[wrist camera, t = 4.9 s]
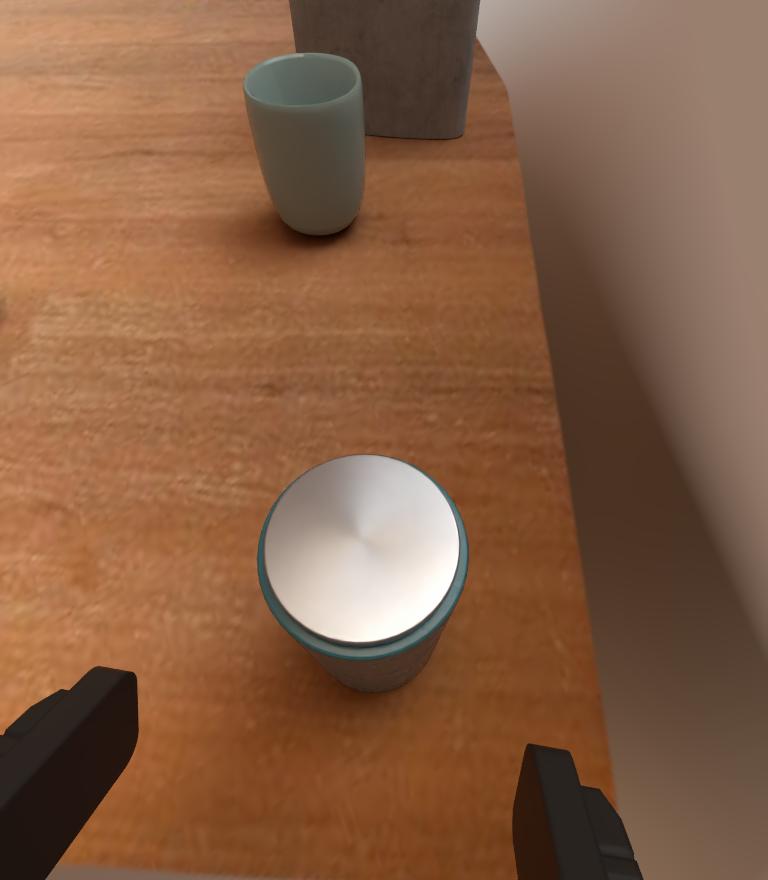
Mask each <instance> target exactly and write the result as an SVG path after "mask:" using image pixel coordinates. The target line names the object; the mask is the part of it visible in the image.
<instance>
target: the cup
mask: <svg viewBox="0 0 768 880" xmlns="http://www.w3.org/2000/svg"><path fill="white" fill-rule="evenodd" d="M243 92H244V98H245V104H246V109H247V114H248V118H249V123H250V127H251V131H252V135H253V140H254V144H255V148H256V152H257V156H258V160H259V164H260V168H261V171H262V175H263V178H264V181H265V185H266V188H267V191H268V193H269V196H270V199H271V201H272V203H273V205H274V207H275V209H276V211H277V213H278V214H279V216H280V218H281V219H282V220H283V221H284V222H285V223H286V224H287V225H288V226H289V227H290V228H292V229H294V230H296V231H297V232H300V233H303V234H308V235H317V236H319V235H329V234H333V233H337V232H339V231H341V230H343V229H345V228H346V227H348V226H349V225H350V224H351V222H352V221H353V220H354V219H355V217H356V215H357V214H358V212H359V210H360V207H361V203H362V199H363V194H364V187H365V170H366V152H365V123H364V102H363V87H362V78H361V74H360V72H359V70H358V68H357V67H356V66H355V64H354V63H352V62H351V61H349V60H348V59H345V58H342V57H340V56H335V55H331V54H323V53H295V54H286V55H281V56H276V57H273V58H270V59H267V60H265V61H263V62H261V63H259V64H257V65H256V66H254V67H253V68H252V69H251V70H250V71H249V72H248V73H247V75H246V77H245V79H244V83H243Z"/></svg>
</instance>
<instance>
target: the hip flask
mask: <svg viewBox="0 0 768 880" xmlns="http://www.w3.org/2000/svg"><path fill="white" fill-rule="evenodd" d="M289 4H290V11H291V18H292V25H293V32H294V40H295V47H296V53H323V54H331V55H335V56H340V57H342V58H345V59H348V60H349V61H351V62H352V63H354V64H355V66H356V67H357V68H358V70H359V72H360V74H361V78H362V87H363V102H364V123H365V134H367V135H377V136H387V137H399V138H418V139H453V138H457V137H459V136H461V135H462V134H463V133H464V129H465V121H466V113H467V104H468V96H469V88H470V80H471V71H472V63H473V55H474V46H475V38H476V30H477V21H478V13H479V5H480V0H289Z"/></svg>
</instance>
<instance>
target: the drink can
mask: <svg viewBox="0 0 768 880" xmlns="http://www.w3.org/2000/svg"><path fill="white" fill-rule="evenodd" d="M468 563H469V547H468V540H467V534H466V530H465V526H464V523H463V520H462V518H461V515H460V513H459V511H458V509H457V507H456V505H455V504H454V502H453V500H452V499H451V497H450V496H449V495H448V494H447V492H446V491H445V490H444V489H443V488H442V487H441V486H440V485H439V484H438V483H437V482H436V481H435V480H434V479H433V478H432V477H430V476H429V475H428V474H427V473H425V472H424V471H422V470H420V469H419V468H417V467H415V466H413V465H411V464H409V463H407V462H404V461H402V460H398V459H395V458H392V457H387V456H382V455H371V454H358V455H349V456H343V457H339V458H336V459H332V460H329V461H327V462H324V463H322V464H319V465H318V466H316V467H314V468H312V469H310V470H308V471H307V472H305V473H304V474H303V475H301V476H300V477H298V478H297V479H296V480H295V481H294V482H293V483H291V484H290V485H289V486H288V487H287V488H286V489H285V491H284V492H283V493H282V494H281V495H280V496H279V498H278V499H277V501H276V502H275V504H274V505H273V506H272V508H271V510H270V512H269V514H268V516H267V518H266V520H265V523H264V525H263V528H262V531H261V535H260V539H259V544H258V553H257V569H258V576H259V582H260V586H261V589H262V592H263V595H264V598H265V600H266V602H267V604H268V606H269V609H270V611H271V612H272V614H273V615H274V616H275V618H276V619H277V621H278V622H279V623H280V625H281V626H282V627H283V628H284V629H285V630H286V631H287V632H288V633H289V634H290V635H291V636H292V637H293V638H294V639H295V640H296V641H297V642H298V643H299V644H300V645H301V646H302V647H303V648H304V649H305V650H306V651H307V652H308V653H309V654H310V655H311V656H312V657H313V658H315V659H316V660H317V661H318V662H319V663H320V664H321V665H322V666H323V667H324V668H325V669H326V670H327V671H328V672H329V673H330V674H331V675H332V676H333V677H334V678H336V679H337V680H338V681H339V682H341V683H343V684H344V685H346V686H348V687H351V688H353V689H356V690H360V691H364V692H383V691H388V690H392V689H395V688H397V687H400V686H401V685H403V684H405V683H407V682H408V681H410V680H411V679H412V678H414V677H415V676H416V675H417V674H418V673H419V672H420V671H421V669H422V668H423V667H424V666H425V664H426V663H427V661H428V659H429V658H430V656H431V654H432V652H433V650H434V648H435V646H436V644H437V642H438V640H439V638H440V636H441V634H442V632H443V630H444V628H445V626H446V624H447V622H448V620H449V618H450V616H451V614H452V612H453V610H454V608H455V606H456V604H457V602H458V599H459V597H460V595H461V592H462V590H463V587H464V584H465V580H466V576H467V570H468Z"/></svg>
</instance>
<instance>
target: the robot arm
mask: <svg viewBox="0 0 768 880" xmlns="http://www.w3.org/2000/svg"><path fill="white" fill-rule="evenodd" d="M138 733H139V726H138V694H137V677H136V675H135V673H133V672H130V671H124V670H118V669H113V668H107V667H101V666H97V667H94V668H93V669H91V670H90V671H89V672H88V673H87V674H85V675H84V676H83V677H82V678H81V679H80V680H79V681H78V682H77V683H76V684H75V685H74V686H73V687H72V688H71V689H70V690H64V689H60V690H59V691H57V692H55V693H54V694H52V695H50V696H48V697H47V698H45V699H43V700H42V701H40V702H38V703H36V704H35V705H33V706H31V707H30V708H29V709H28V710H27V711H26V712H25V713H23V714H22V715H21V716H20V717H19V718H18V719H17V720H16V721H15V722H14V723H13V724H12V725H10V726H9V727H8V728H7V729H6V730H5V733H4V735H0V880H45V879H46V878H47V876H48V875H49V874H50V872H51V871H52V869H53V868H54V867H55V865H56V864H57V862H58V861H59V860H60V858H61V857H62V855H63V854H64V853H65V851H66V850H67V848H68V847H69V846H70V844H71V843H72V842H73V840H74V839H75V837H76V836H77V835H78V833H79V832H80V830H81V829H82V828H83V826H84V825H85V823H86V822H87V821H88V819H89V818H90V816H91V815H92V814H93V812H94V811H95V809H96V808H97V807H98V805H99V804H100V802H101V801H102V800H103V798H104V797H105V796H106V794H107V793H108V791H109V790H110V789H111V787H112V786H113V784H114V783H115V782H116V780H117V779H118V777H119V776H120V775H121V773H122V772H123V770H124V769H125V768H126V766H127V764H128V763H129V761H130V759H131V757H132V755H133V752H134V750H135V747H136V743H137V739H138ZM512 828H513V845H514V852H515V860H516V867H517V874H518V880H643V877H642V874H641V872H640V869H639V866H638V863H637V861H635V860H634V852H633V850H632V847H631V844H630V841H629V839H628V836H627V833H626V831H625V828H624V825H623V822H622V819H621V818H620V817H619V815H618V814H617V813H616V811H615V810H614V808H613V807H612V806H611V804H610V803H609V801H608V800H607V799H606V797H605V796H604V795H603V793H602V792H601V790H600V789H597V788H591V787H586V786H581V785H580V781H579V778H578V775H577V771H576V768H575V765H574V762H573V759H572V756H571V754H570V752H569V751H568V750H563V749H557V748H552V747H546V746H540V745H535V744H527V746H526V749H525V752H524V757H523V762H522V767H521V772H520V777H519V781H518V786H517V791H516V796H515V801H514V807H513V822H512Z"/></svg>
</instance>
